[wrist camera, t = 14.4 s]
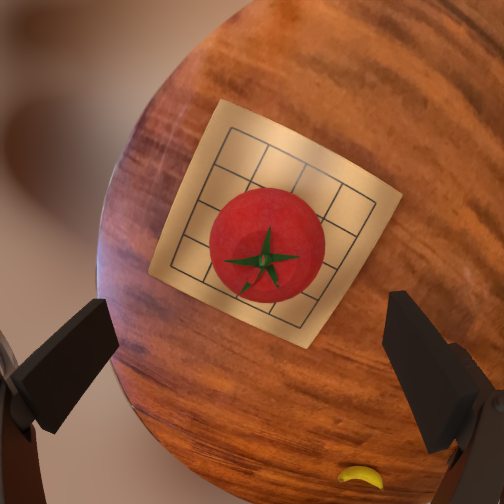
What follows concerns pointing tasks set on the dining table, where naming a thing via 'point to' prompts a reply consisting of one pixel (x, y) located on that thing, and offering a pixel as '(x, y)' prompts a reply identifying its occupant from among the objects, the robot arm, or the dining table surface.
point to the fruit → (362, 475)
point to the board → (280, 177)
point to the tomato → (267, 245)
